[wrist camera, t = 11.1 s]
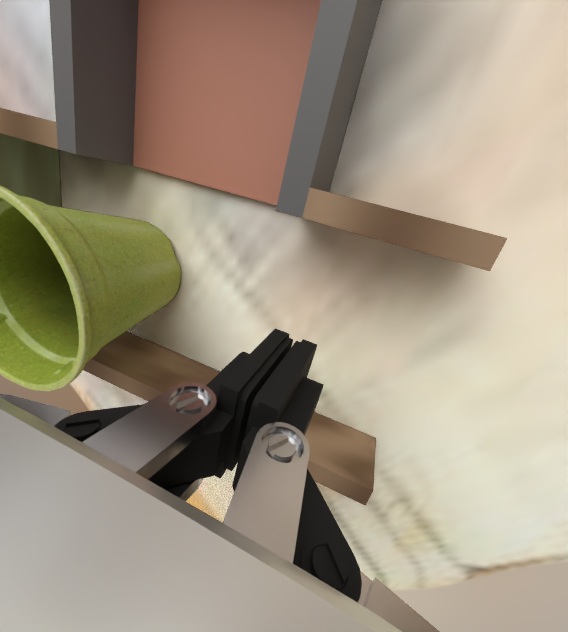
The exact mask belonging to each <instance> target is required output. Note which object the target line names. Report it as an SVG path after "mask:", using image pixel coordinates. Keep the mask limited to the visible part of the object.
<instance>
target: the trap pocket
mask: <svg viewBox="0 0 568 632" xmlns="http://www.w3.org/2000/svg"><path fill="white" fill-rule="evenodd" d="M49 2H50V20H51V38H52V55H53V73H54V91H55V109H56V127H57V144H58V149H59V150H62V151H66V152H69V153H73V154H77V155H82V156H87V157H92V158H97V159H102V160H107V161H112V162H117V163H122V164H127V165H132V166H136V167H140V168H143V169H147V170H150V171H154V172H158V173H161V174H165V175H168V176H172V177H176V178H179V179H183V180H186V181H190V182H194V183H197V184H201V185H204V186H208V187H212V188H215V189H219V190H222V191H226V192H229V193H233V194H237V195H240V196H244V197H247V198H251V199H255V200H258V201H262V202H265V203H269V204H273V205H276V206H277V207H276V211H278V212H282V213H285V214H289V215H293V216H296V217H300V218H302V217H303V213H304V209H305V205H306V201H307V197H308V193H309V189H310V188H314V189H318V190H322V191H325V192H329V189H330V186H331V182H332V178H333V175H334V171H335V168H336V164H337V160H338V157H339V153H340V150H341V146H342V143H343V139H344V135H345V132H346V128H347V125H348V121H349V117H350V114H351V110H352V107H353V103H354V99H355V96H356V92H357V89H358V85H359V81H360V78H361V74H362V71H363V67H364V63H365V60H366V56H367V53H368V49H369V46H370V42H371V38H372V35H373V31H374V28H375V24H376V20H377V17H378V13H379V10H380V6H381V2H382V0H49Z"/></svg>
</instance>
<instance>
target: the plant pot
mask: <svg viewBox="0 0 568 632" xmlns="http://www.w3.org/2000/svg"><path fill="white" fill-rule="evenodd" d="M180 279H181V269H180V265H179V263H178V262H177V259H176V257H175V254H174V252H173V248H172V244H171V242H170V240H169V239H168V238H167V237H166V235H165V234H164V233H163V232H162V231H160V230H159V229H158V228H157V227H155V226H154V225H152V224H150V223H147V222H145V221H141V220H135V219H129V218H123V217H117V216H110V215H104V214H97V213H91V212H86V211H80V210H74V209H68V208H62V207H56V206H51V205H47V204H45V203H43V202H41V201H38V200H35V199H32V198H29V197H25V196H19V195H17V194H15V193H14V192H12V191H10V190H8V189H7V188H5V187H3V186H0V374H1V375H2V376H4V377H5V378H7V379H9V380H10V381H12V382H14V383H17V384H19V385H21V386H23V387H25V388H28V389H32V390H38V391H53V390H57V389H60V388H62V387H64V386H66V385H68V384H69V383H71V382H72V381H73V380H74V379H76V378H77V377H78V375H79V374H80V373H81V372H82V370H83V369H84V367H85V364H86V362H88V361H89V360H90V359H92V358H93V357H94V356H95V355H96V354H97V353H98V351H99V350H100V349H101V347H103V346H104V345H106V344H107V343H109V342H110V341H112V340H113V339H115V338H116V337H118V336H119V335H121V334H122V333H124V332H125V331H127V330H128V329H130V328H131V327H133V326H134V325H136V324H137V323H139V322H140V321H142V320H144V319H145V318H147V317H148V316H150V315H151V314H153V313H155V312H156V311H158V310H159V309H161V308H162V307H164V306H165V305H167V304H168V303H169V302H170V301H172V299H173V298H174V297H175V295H176V293H177V291H178V289H179V285H180Z"/></svg>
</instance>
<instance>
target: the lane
mask: <svg viewBox="0 0 568 632" xmlns="http://www.w3.org/2000/svg"><path fill="white" fill-rule="evenodd" d="M0 186H3V187H5V188H7V189H8V190H10V191H12V192H14V193H15V194H17V195H19V196H25V197H29V198H32V199H35V200H38V201H41V202H43V203H45V204H47V205H51V206H56V207H62V205H61V187H60V169H59V151H58V144H57V127H56V122H53V121H49V120H45V119H41V118H37V117H34V116H30V115H26V114H22V113H18V112H14V111H10V110H6V109H2V108H0ZM302 218H303V219H307V220H310V221H314V222H317V223H321V224H324V225H328V226H332V227H335V228H339V229H342V230H346V231H349V232H353V233H356V234H360V235H363V236H367V237H371V238H374V239H378V240H381V241H385V242H388V243H392V244H395V245H399V246H402V247H406V248H410V249H413V250H417V251H420V252H424V253H427V254H431V255H434V256H438V257H441V258H445V259H448V260H452V261H456V262H459V263H463V264H466V265H470V266H473V267H477V268H480V269H484V270H487V271H490V270H491V268H492V266H493V264H494V262H495V260H496V259H497V257H498V255H499V253H500V251H501V249H502V247H503V245H504V244H505V242H506V240H507V238H504V237H501V236H497V235H493V234H489V233H485V232H481V231H477V230H473V229H469V228H466V227H462V226H458V225H454V224H450V223H446V222H442V221H438V220H434V219H431V218H427V217H423V216H419V215H415V214H411V213H407V212H403V211H399V210H395V209H392V208H388V207H384V206H380V205H376V204H372V203H368V202H364V201H360V200H357V199H353V198H349V197H345V196H341V195H337V194H333V193H329V192H325V191H322V190H318V189H314V188H310V189H309V193H308V197H307V201H306V205H305V209H304V213H303V217H302ZM83 370H84V371H86V372H89V373H91V374H93V375H95V376H97V377H99V378H101V379H103V380H105V381H107V382H109V383H111V384H114V385H116V386H118V387H120V388H122V389H124V390H126V391H128V392H130V393H132V394H134V395H136V396H139V397H141V398H143V399H145V400H147V401H150V400H152V399H154V398H155V397H157V396H159V395H160V394H162V393H164V392H165V391H167V390H168V389H170V388H172V387H174V386H176V385H178V384H183V383H198V384H202V385H205V386H206V385H207V384H208V383H209V382H210V381H211V380H212V379H213V378H214V377H216V376H217V375H218V374H219V373H220V371H217V370H215V369H213V368H210V367H208V366H206V365H203V364H201V363H199V362H196V361H194V360H192V359H189V358H187V357H185V356H182V355H180V354H178V353H175V352H173V351H170V350H168V349H166V348H163V347H161V346H159V345H156V344H154V343H152V342H149V341H147V340H145V339H142V338H140V337H138V336H135V335H133V334H131V333H128V332H126V331H125V332H124V333H122V334H121V335H119V336H118V337H116V338H115V339H113V340H112V341H110V342H109V343H107V344H106V345H104V346H103V347H101V349H100V350H99V351H98V353H97V354H96V355H95V356H94V357H93V358H92V359H90V360H89V361H88V362H86V364H85V367H84V369H83ZM305 437H306V438H307V441H308V443H309V450H310V453H309V460H308V466H307V468H308V470H309V472H310V474H311V476H312V478H313V479H314V481H316V482H318V483H320V484H322V485H324V486H326V487H328V488H330V489H332V490H334V491H336V492H338V493H341V494H343V495H345V496H347V497H349V498H351V499H353V500H355V501H357V502H359V503H361V504H363V505H366V503H367V501H368V499H369V498H370V496H371V494H372V492H373V485H374V466H375V447H376V438H374V437H372V436H369V435H367V434H365V433H362V432H360V431H358V430H355V429H353V428H351V427H348V426H346V425H344V424H341V423H339V422H337V421H334V420H332V419H330V418H327V417H325V416H323V415H320V414H318V413H316V412H314V413H313V416H312V418H311V421H310V423H309V426H308V428H307V431H306V433H305Z"/></svg>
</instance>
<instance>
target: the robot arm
mask: <svg viewBox="0 0 568 632" xmlns="http://www.w3.org/2000/svg"><path fill="white" fill-rule="evenodd" d="M292 342H293V339H291V338H289V334H288V333H285V332H283V331H280V330H277V329H275V330H273V331H272V332H271V333H270V334H269V335H268V337H267V338H266V339H265V340H264V341H263V342H262V343H261V344H260V345H259V346H258V347H257V348H256V349H255V350H254V351H253V352H252V353H251V354H248V353H246V352H242V353H240V354H239V355H238V356H237V357H236V358H235V359H234V360H233V361H232V362H230V363H229V364H228V365H227V366H226V367H225V368H224V369H223V370H222V371H221V372H220V373H219V374H218V375H217V376H216V377H214V378H213V379H212V380H211V381H210V382H209V383H208V384H207V385H206V386H205V385H202V384H198V383H183V384H178V385H176V386H174V387H172V388H170V389H168V390H167V391H165V392H164V393H162V394H160V395H159V396H157V397H155V398H154V399H152V400H150V401H149V402H147V403H145V404H143V405H135V406H127V407H119V408H110V409H102V410H94V411H86V412H81V413H77V414H74V415H71V411H70V410H66V409H62V408H58V407H54V406H50V405H46V404H42V403H39V402H35V401H31V400H27V399H23V398H19V397H15V396H12V395H5V394H0V632H439V631H438V630H437V629H436V628H435V627H433V626H432V625H431V624H430V623H429V622H428V621H426V620H425V619H424V618H423V617H422V616H420V615H419V614H418V613H417V612H416V611H414V610H413V609H412V608H411V607H410V606H409V605H407V604H406V603H405V602H404V601H403V600H401V599H400V598H399V597H398V596H397V595H396V594H394V593H393V592H392V591H391V590H390V589H388V588H387V587H386V586H385V585H384V584H382V583H381V582H380V581H379V580H378V579H377V578H375V579H374V580H373V582H372V581H371V580H370V579H369V578H368V577H367V576H365V575H364V574H363V573H362V572H361V571H360V568H359V566H358V563H357V561H356V558H355V556H354V554H353V552H352V550H351V549H350V547H349V545H348V543H347V541H346V539H345V537H344V536H343V534H342V532H341V530H340V528H339V526H338V524H337V522H336V521H335V519H334V517H333V515H332V513H331V511H330V509H329V507H328V506H327V504H326V502H325V500H324V498H323V496H322V494H321V492H320V491H319V489H318V487H317V485H316V483H315V481H314V479H313V478H312V476H311V474H310V472H309V470H308V468H307V466H308V460H309V453H310V450H309V443H308V441H307V438H306V437H305V433H306V431H307V428H308V426H309V423H310V421H311V418H312V416H313V413H314V410H315V408H316V405H317V402H318V400H319V397H320V394H321V391H322V388H323V384H320V383H318V382H316V381H313V380H311V379H308V378H307V375H308V372H309V369H310V366H311V363H312V360H313V357H314V354H315V351H316V347H317V344H314V343H311V342H309V341H306V340H304V339H303V340H302V341H301V342H298V341H296V342H295V343H294V345H293V346H292ZM291 346H292V347H291ZM237 462H238V464H237ZM236 464H237V469H236V473H235V477H234V481H233V489H234V495H233V497H232V500H231V502H230V505H229V508H228V510H227V513H226V515H225V518H224V521H223V523H222V522H220V521H218V520H217V519H215V518H213V517H211V516H210V515H208V514H206V513H205V512H203V511H201V510H199V509H198V508H196V507H194V506H192V505H191V504H189V503H187V502H186V500H187V499H188V498H189V497H190V496H191V495H192V494H193V493H194V492H195V491H196V490H197V489H198V487H199V486H200V484H201V483H202V481H203V478H206V477H210V476H213V475H215V476H217V477H219V478H221V477H222V475H223V474H224V472H225V471H226V469H228V470H230V471H232V470H233V469H234V467H235V465H236Z"/></svg>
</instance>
